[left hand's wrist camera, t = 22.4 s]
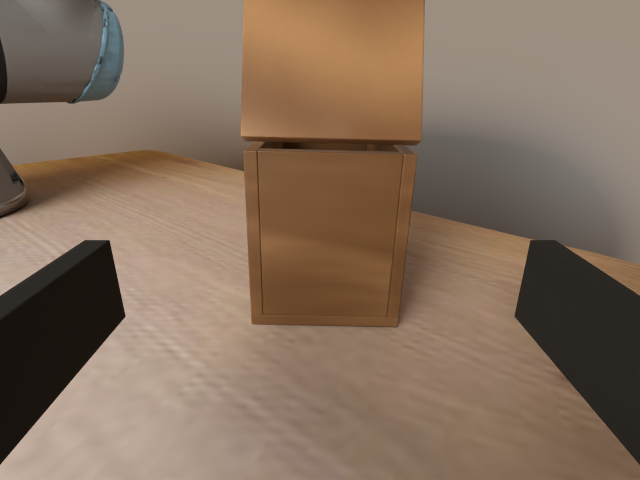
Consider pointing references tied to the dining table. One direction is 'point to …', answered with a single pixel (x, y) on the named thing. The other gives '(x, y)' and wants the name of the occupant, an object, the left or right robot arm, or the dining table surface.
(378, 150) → the chest
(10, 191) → the right robot arm
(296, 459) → the dining table surface
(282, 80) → the lid
